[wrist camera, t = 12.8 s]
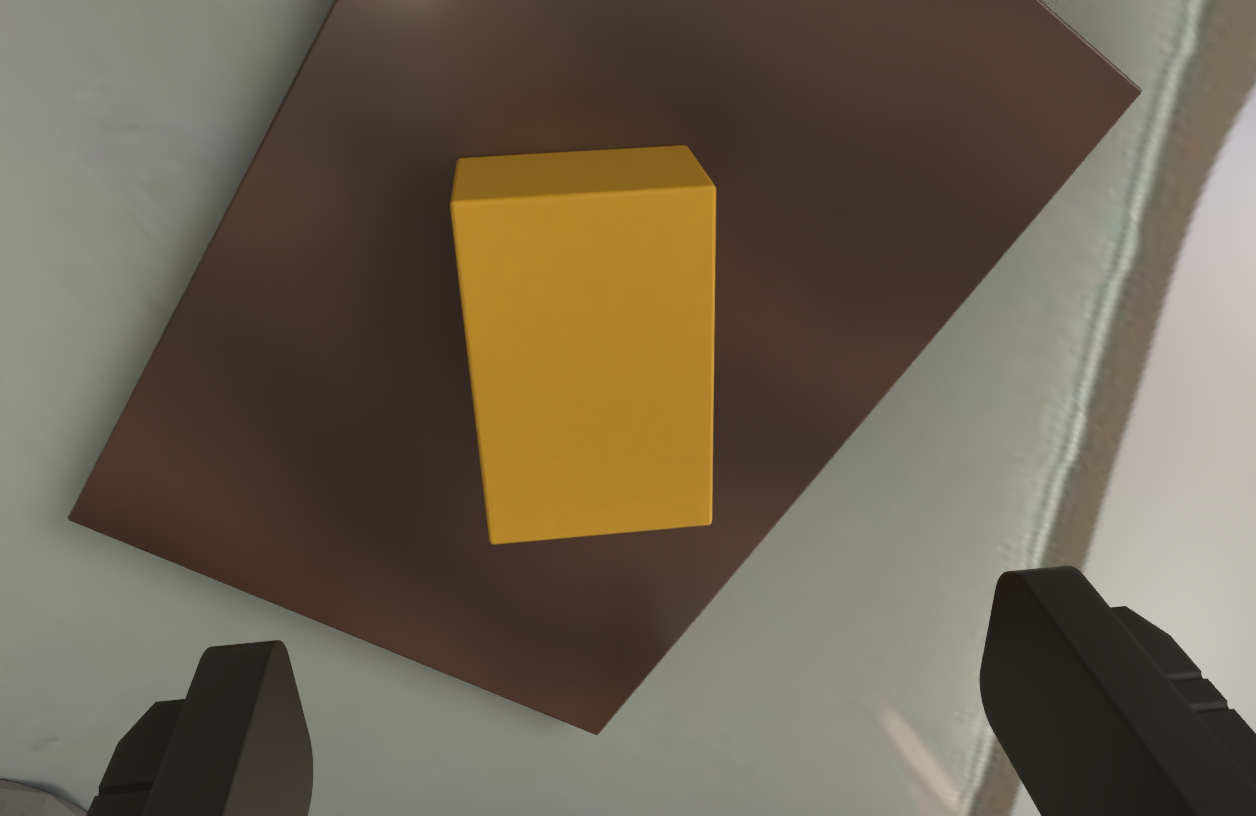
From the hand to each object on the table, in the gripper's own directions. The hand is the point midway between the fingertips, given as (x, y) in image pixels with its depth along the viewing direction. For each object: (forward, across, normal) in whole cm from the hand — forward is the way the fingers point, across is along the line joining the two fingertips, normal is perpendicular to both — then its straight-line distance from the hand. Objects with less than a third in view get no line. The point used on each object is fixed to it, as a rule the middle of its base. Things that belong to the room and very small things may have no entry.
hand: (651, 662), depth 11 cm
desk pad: (+12, 0, 0) cm, 12 cm away
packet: (+11, 0, 0) cm, 11 cm away
